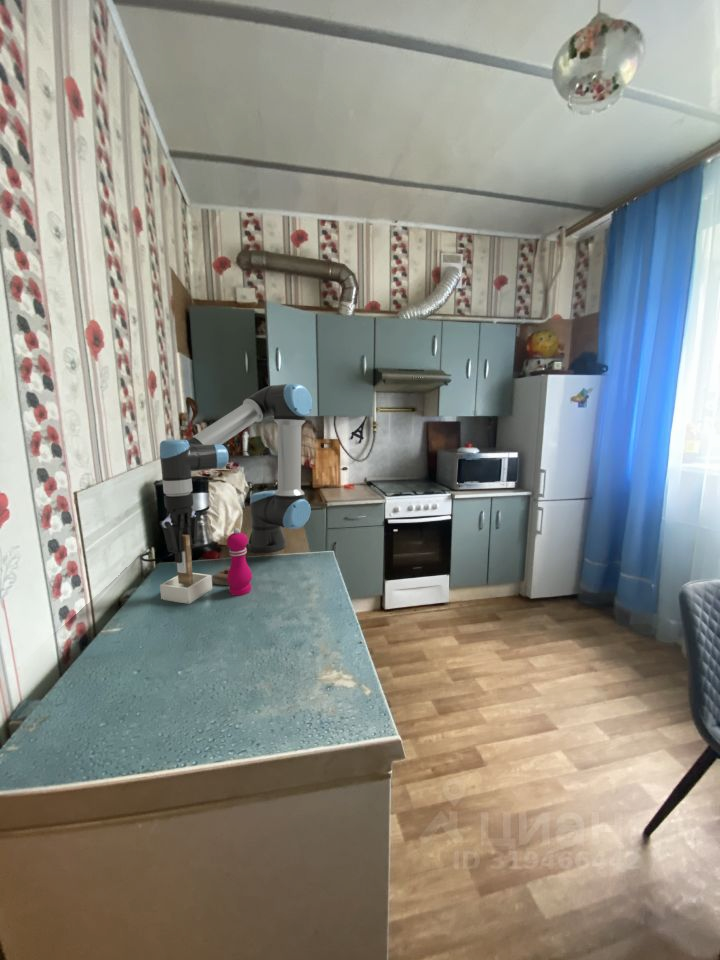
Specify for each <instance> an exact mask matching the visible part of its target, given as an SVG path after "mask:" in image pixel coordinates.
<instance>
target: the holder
mask: <svg viewBox="0 0 720 960" xmlns="http://www.w3.org/2000/svg"><path fill="white" fill-rule="evenodd" d="M229 569H230V567H225V568H223V569H222V570H220V571H218V572H216V573H215V574H213V575H212V584H216V583H217V584H216V585H225V586H229V587H230V586H231V585H230V584H229V583H228V581H227V576H228V572H229Z"/></svg>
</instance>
